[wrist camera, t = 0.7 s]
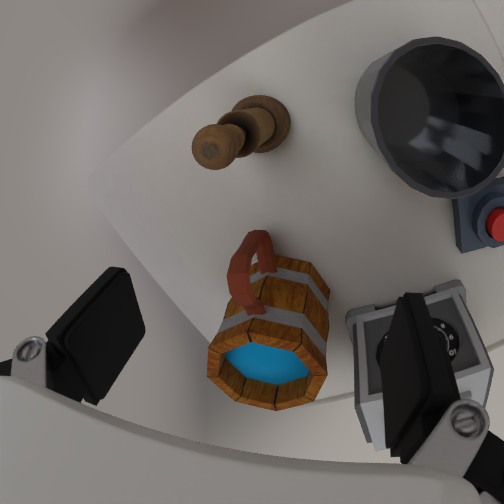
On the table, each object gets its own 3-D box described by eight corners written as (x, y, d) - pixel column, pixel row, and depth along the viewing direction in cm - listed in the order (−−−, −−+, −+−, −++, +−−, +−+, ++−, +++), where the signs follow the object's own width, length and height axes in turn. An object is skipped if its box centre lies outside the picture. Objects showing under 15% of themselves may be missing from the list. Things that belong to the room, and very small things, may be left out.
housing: (511, 174, 29) (527, 184, 25) (513, 229, 32) (526, 243, 28) (450, 189, 32) (462, 200, 29) (456, 245, 35) (466, 260, 32)
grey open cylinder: (442, 46, 24) (491, 32, 14) (470, 153, 29) (521, 183, 19) (338, 66, 29) (346, 52, 19) (372, 175, 34) (393, 213, 24)
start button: (507, 205, 28) (514, 210, 26) (508, 231, 29) (514, 238, 27) (485, 211, 29) (491, 216, 27) (486, 238, 30) (491, 244, 29)
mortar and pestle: (279, 87, 31) (241, 83, 16) (297, 141, 34) (276, 185, 19) (225, 105, 34) (146, 123, 18) (243, 156, 36) (182, 212, 21)
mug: (335, 326, 45) (332, 409, 33) (249, 333, 49) (225, 409, 37) (314, 202, 37) (309, 267, 24) (211, 219, 41) (161, 283, 28)
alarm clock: (462, 277, 37) (509, 374, 21) (462, 340, 42) (491, 431, 26) (343, 311, 44) (343, 420, 28) (361, 368, 49) (362, 464, 33)
